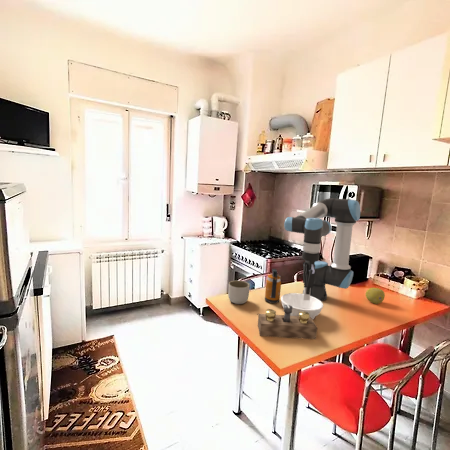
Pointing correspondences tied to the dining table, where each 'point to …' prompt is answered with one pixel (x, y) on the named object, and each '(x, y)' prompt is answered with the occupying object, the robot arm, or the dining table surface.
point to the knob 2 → (303, 317)
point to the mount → (286, 327)
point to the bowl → (302, 304)
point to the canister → (273, 287)
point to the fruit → (375, 295)
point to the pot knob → (287, 313)
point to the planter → (238, 291)
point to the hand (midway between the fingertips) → (306, 299)
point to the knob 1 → (270, 314)
